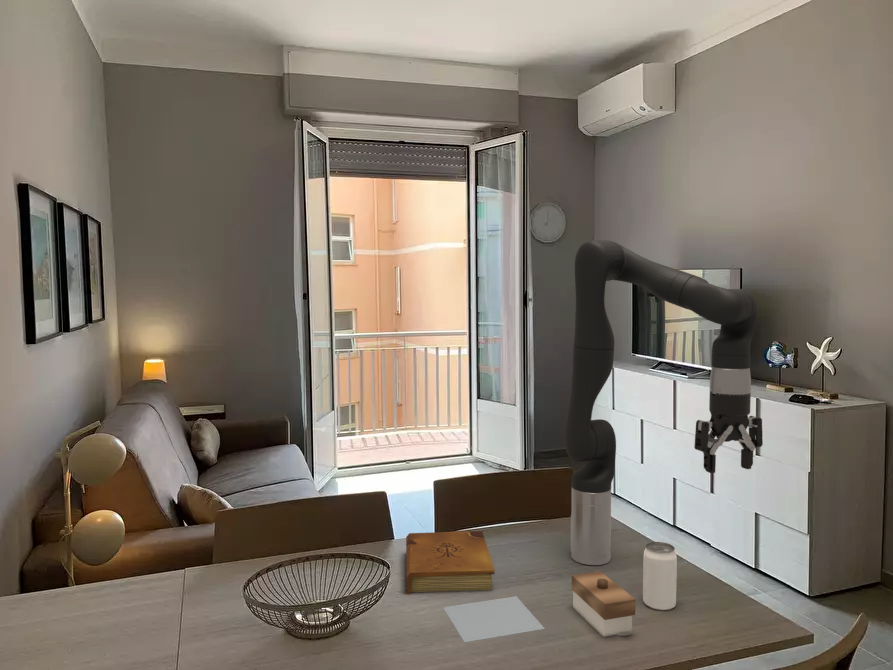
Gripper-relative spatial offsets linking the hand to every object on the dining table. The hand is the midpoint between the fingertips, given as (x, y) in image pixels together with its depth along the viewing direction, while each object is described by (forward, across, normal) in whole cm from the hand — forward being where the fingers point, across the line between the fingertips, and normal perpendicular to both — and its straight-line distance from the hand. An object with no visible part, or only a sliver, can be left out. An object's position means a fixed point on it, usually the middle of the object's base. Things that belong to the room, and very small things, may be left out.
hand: (728, 470), depth 136 cm
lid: (+24, +27, -2) cm, 36 cm away
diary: (+29, +49, -33) cm, 66 cm away
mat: (+28, +47, -9) cm, 55 cm away
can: (+28, +12, -5) cm, 31 cm away
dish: (+28, +27, -2) cm, 39 cm away
